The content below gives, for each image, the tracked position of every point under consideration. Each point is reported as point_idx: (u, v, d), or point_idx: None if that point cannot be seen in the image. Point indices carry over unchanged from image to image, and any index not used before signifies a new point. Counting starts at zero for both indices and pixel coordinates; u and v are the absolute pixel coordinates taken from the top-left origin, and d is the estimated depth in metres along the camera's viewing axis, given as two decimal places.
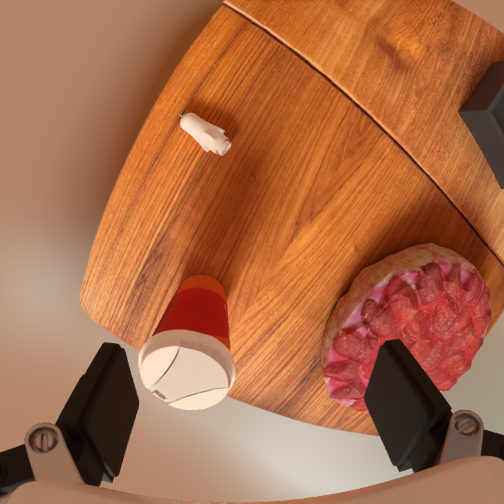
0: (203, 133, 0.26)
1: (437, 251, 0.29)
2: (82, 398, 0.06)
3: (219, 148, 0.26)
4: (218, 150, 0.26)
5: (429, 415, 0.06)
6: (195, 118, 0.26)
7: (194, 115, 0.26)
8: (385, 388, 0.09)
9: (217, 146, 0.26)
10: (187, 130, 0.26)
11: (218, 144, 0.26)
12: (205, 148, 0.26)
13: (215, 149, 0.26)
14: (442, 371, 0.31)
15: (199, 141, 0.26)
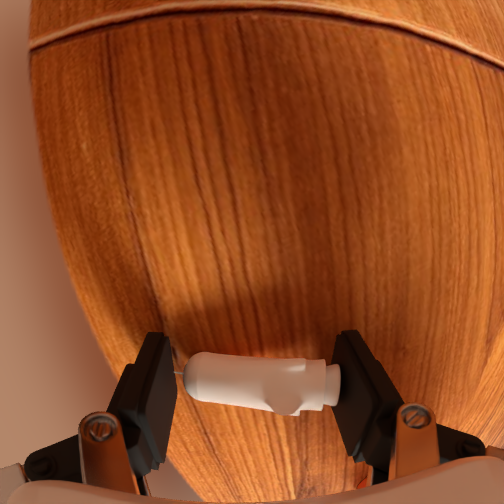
0: (264, 404, 0.09)
1: None
2: (137, 384, 0.07)
3: (324, 403, 0.09)
4: None
5: (375, 404, 0.07)
6: (213, 379, 0.09)
7: (205, 370, 0.10)
8: (341, 377, 0.10)
9: None
10: None
11: (318, 404, 0.09)
12: (291, 414, 0.10)
13: None
14: None
15: (266, 409, 0.10)
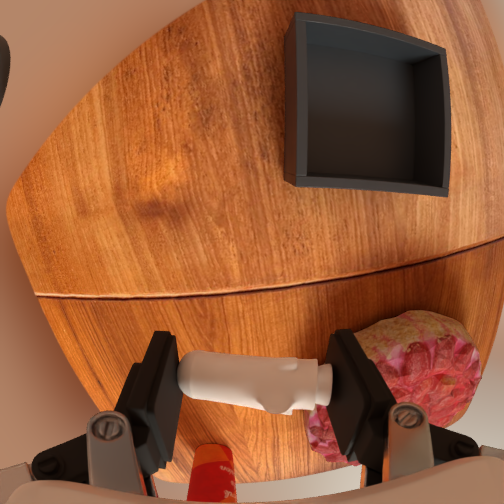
0: (256, 402, 0.09)
1: None
2: (145, 383, 0.07)
3: (316, 402, 0.09)
4: (315, 402, 0.09)
5: (366, 404, 0.07)
6: (206, 377, 0.09)
7: (198, 368, 0.10)
8: (334, 376, 0.10)
9: None
10: None
11: (310, 404, 0.09)
12: (283, 413, 0.10)
13: (309, 409, 0.09)
14: (440, 410, 0.28)
15: (259, 408, 0.10)
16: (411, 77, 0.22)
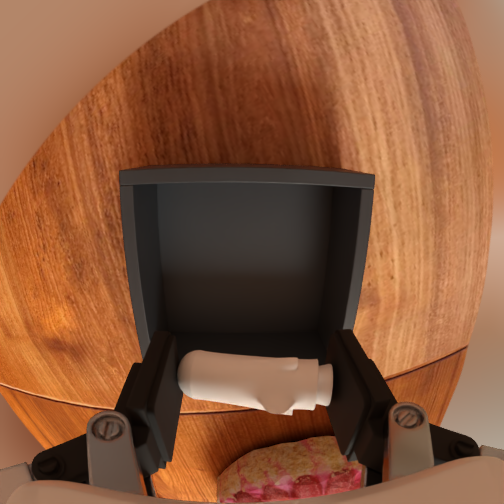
0: (257, 403, 0.09)
1: (246, 475, 0.25)
2: (146, 383, 0.07)
3: (316, 402, 0.09)
4: (316, 403, 0.09)
5: (366, 404, 0.07)
6: (206, 377, 0.09)
7: (198, 368, 0.10)
8: (334, 377, 0.10)
9: None
10: None
11: (310, 404, 0.09)
12: (284, 413, 0.10)
13: (309, 409, 0.09)
14: None
15: (259, 408, 0.10)
16: (329, 200, 0.20)
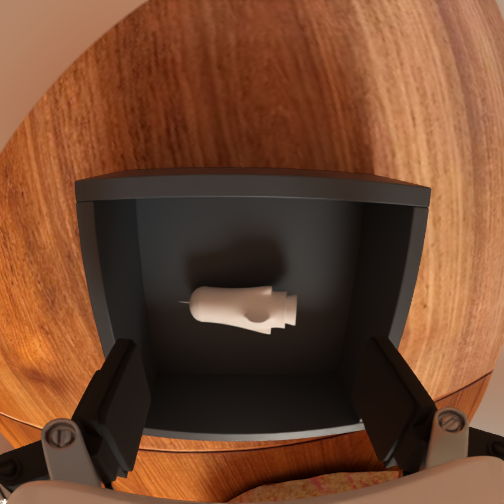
0: (244, 318, 0.14)
1: None
2: (99, 393, 0.07)
3: (286, 321, 0.14)
4: (286, 322, 0.15)
5: (412, 411, 0.06)
6: (210, 301, 0.15)
7: (204, 295, 0.15)
8: (371, 384, 0.09)
9: (281, 322, 0.14)
10: (214, 322, 0.15)
11: (281, 320, 0.14)
12: (264, 331, 0.15)
13: (281, 327, 0.15)
14: None
15: (246, 327, 0.15)
16: (359, 216, 0.15)
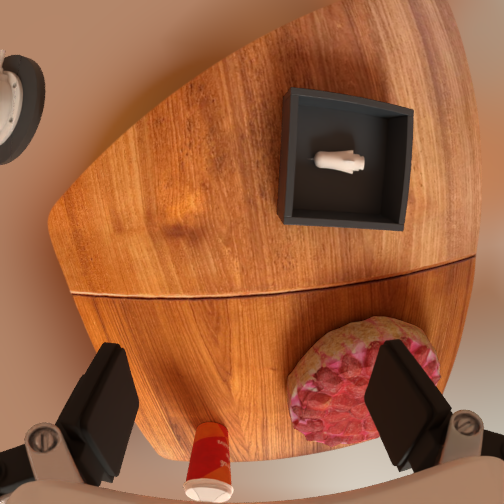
0: (342, 162, 0.30)
1: (325, 351, 0.36)
2: (82, 398, 0.06)
3: (360, 165, 0.30)
4: (359, 167, 0.30)
5: (429, 415, 0.06)
6: (326, 154, 0.30)
7: (323, 152, 0.31)
8: (385, 388, 0.09)
9: (358, 165, 0.30)
10: (327, 167, 0.31)
11: (358, 163, 0.30)
12: (350, 171, 0.31)
13: (358, 168, 0.30)
14: None
15: (342, 169, 0.31)
16: (385, 130, 0.31)
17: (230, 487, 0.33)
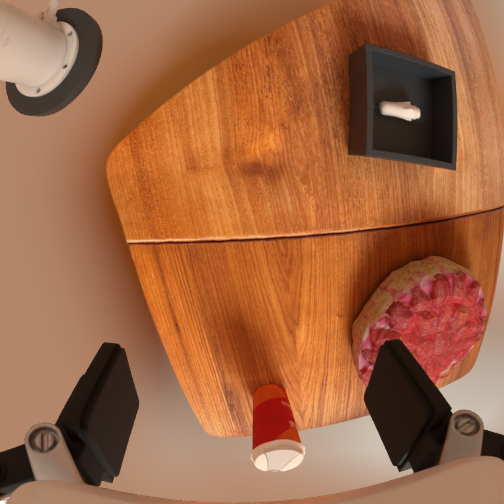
0: (403, 110, 0.30)
1: (395, 287, 0.36)
2: (82, 398, 0.06)
3: (417, 114, 0.31)
4: (416, 116, 0.31)
5: (429, 415, 0.06)
6: (390, 103, 0.31)
7: (387, 102, 0.31)
8: (385, 388, 0.09)
9: (416, 113, 0.30)
10: (390, 114, 0.31)
11: (416, 112, 0.30)
12: (409, 119, 0.31)
13: (415, 116, 0.31)
14: (458, 341, 0.37)
15: (403, 116, 0.31)
16: (430, 89, 0.31)
17: (303, 448, 0.34)
